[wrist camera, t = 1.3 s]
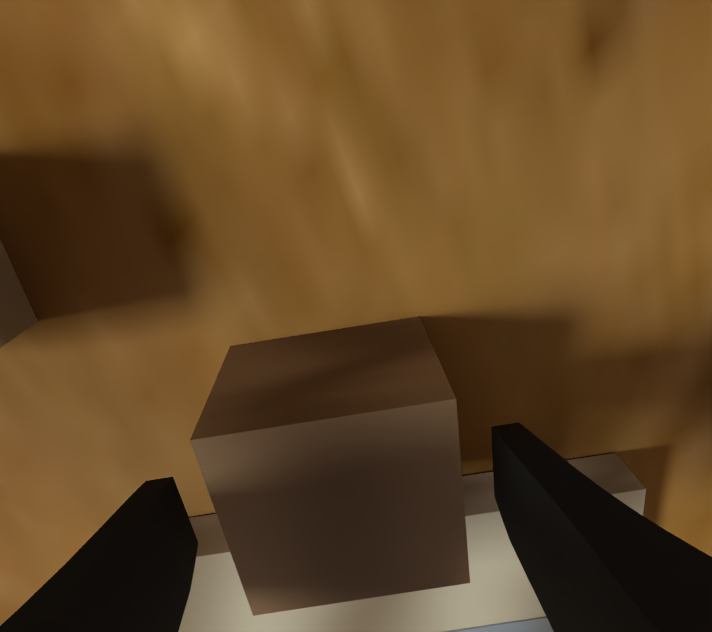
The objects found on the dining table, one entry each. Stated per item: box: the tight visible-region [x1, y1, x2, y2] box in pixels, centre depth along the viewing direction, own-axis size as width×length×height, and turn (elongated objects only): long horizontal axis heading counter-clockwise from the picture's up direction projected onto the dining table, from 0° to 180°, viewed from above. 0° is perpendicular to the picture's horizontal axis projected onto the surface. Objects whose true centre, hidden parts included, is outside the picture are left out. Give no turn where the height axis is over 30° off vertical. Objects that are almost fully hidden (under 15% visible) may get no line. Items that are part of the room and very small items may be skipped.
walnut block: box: [190, 316, 470, 616], centre depth 12 cm, size 5×5×4 cm
